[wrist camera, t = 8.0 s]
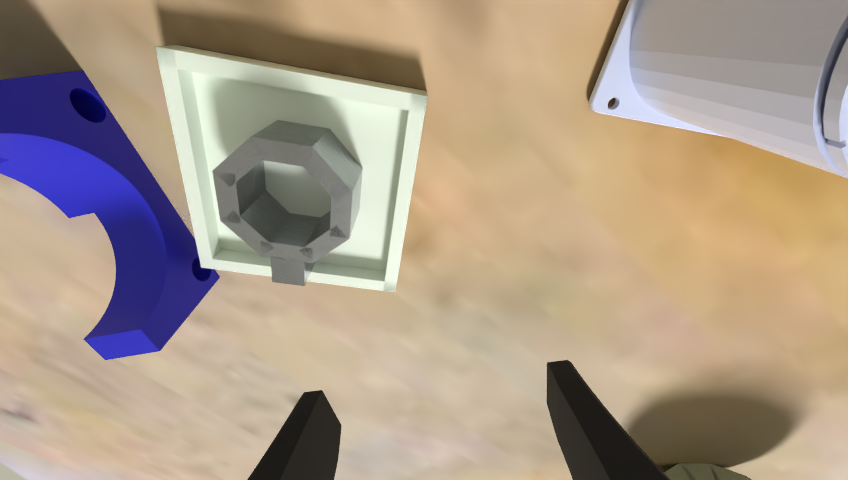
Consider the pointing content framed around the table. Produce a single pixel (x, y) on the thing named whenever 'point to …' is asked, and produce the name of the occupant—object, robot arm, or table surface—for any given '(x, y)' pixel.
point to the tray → (289, 184)
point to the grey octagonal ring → (267, 219)
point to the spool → (702, 472)
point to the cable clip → (105, 205)
